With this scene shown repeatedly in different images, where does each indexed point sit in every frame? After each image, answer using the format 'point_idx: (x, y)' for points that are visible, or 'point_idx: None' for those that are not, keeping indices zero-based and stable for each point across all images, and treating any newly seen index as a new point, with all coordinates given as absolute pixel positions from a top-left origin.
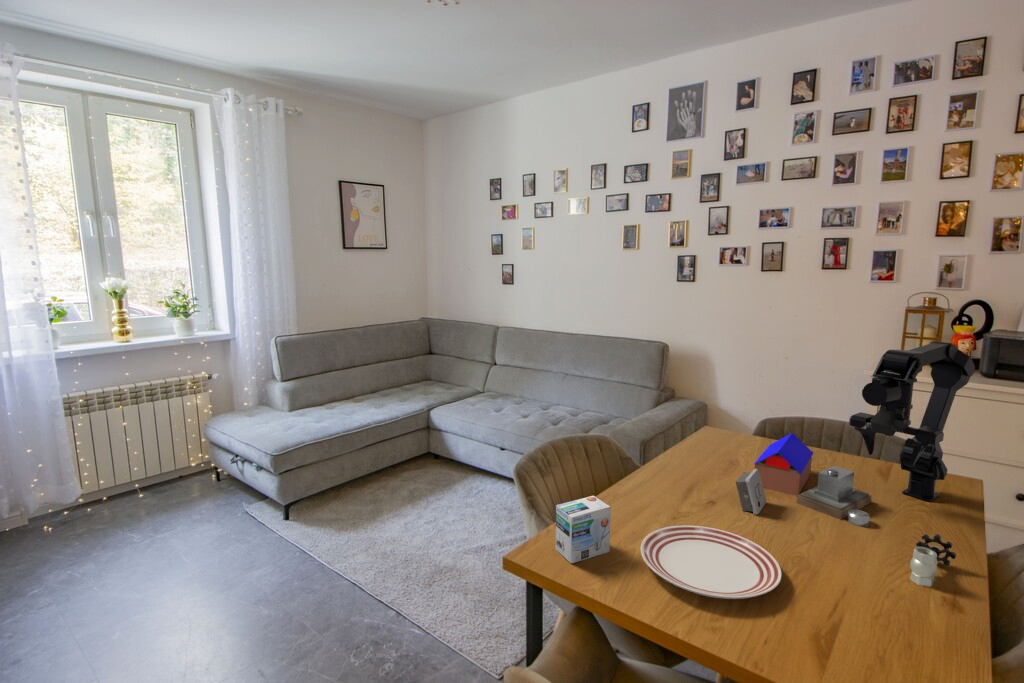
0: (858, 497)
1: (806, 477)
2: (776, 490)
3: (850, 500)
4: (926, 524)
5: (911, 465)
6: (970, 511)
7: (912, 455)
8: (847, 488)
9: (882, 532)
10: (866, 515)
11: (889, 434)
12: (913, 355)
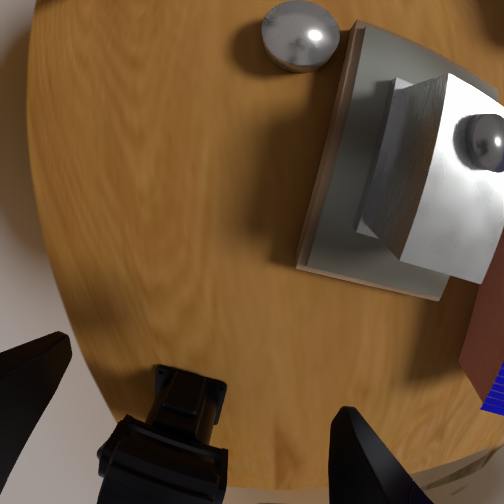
0: (335, 191)
1: (482, 304)
2: None
3: (357, 133)
4: (121, 193)
5: (60, 332)
6: (88, 355)
7: (3, 371)
8: (390, 176)
9: (216, 21)
10: (273, 31)
11: None
12: None
